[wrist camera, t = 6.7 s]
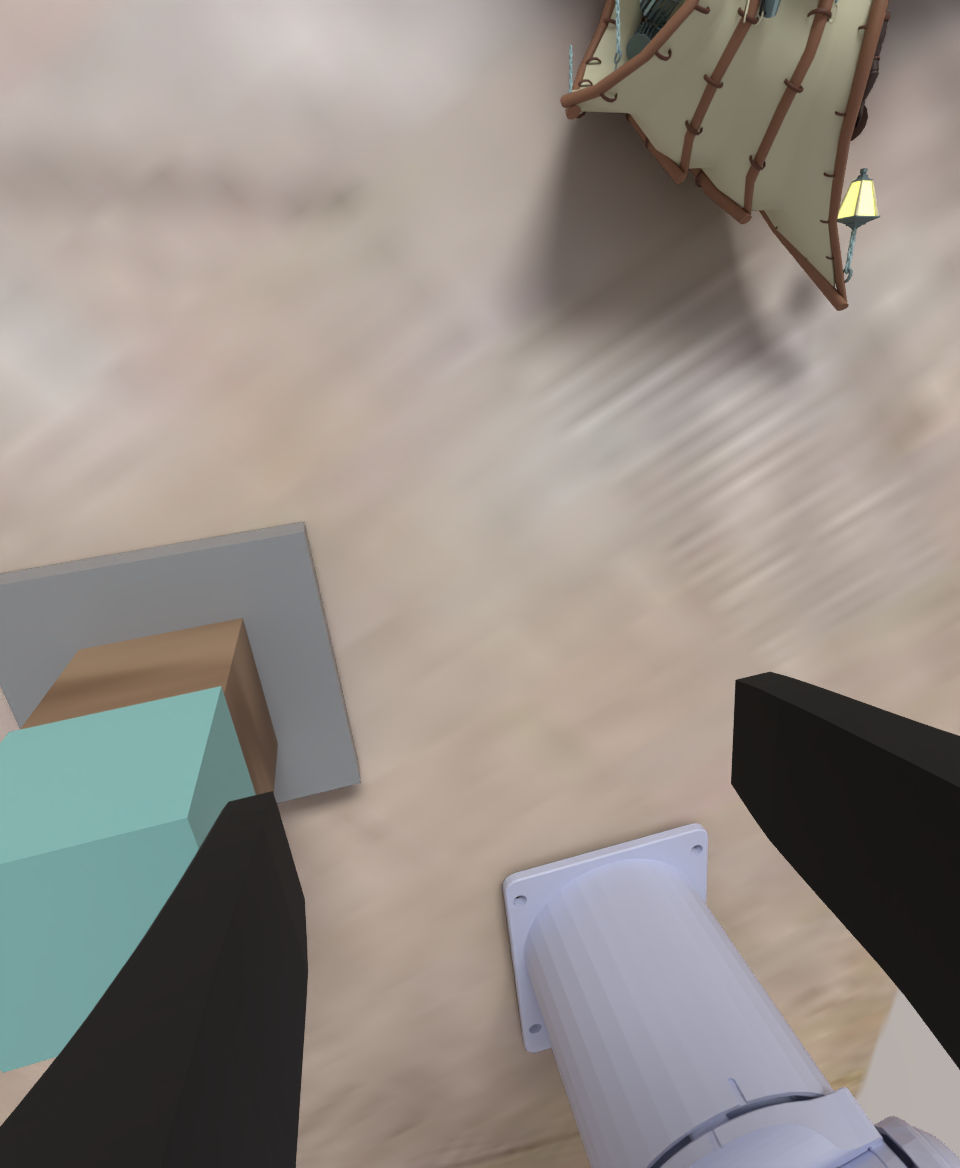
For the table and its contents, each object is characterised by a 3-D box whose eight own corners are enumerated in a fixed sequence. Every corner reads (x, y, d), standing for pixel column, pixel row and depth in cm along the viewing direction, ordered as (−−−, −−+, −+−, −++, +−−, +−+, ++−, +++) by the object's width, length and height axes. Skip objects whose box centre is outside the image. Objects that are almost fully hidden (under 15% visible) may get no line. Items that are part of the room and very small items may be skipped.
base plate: (358, 763, 21) (360, 782, 20) (87, 827, 19) (76, 851, 18) (304, 521, 18) (303, 531, 17) (-23, 577, 16) (-43, 592, 15)
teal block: (268, 836, 15) (254, 998, 11) (81, 884, 14) (2, 1072, 11) (221, 686, 13) (187, 818, 10) (9, 731, 13) (-113, 891, 9)
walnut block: (277, 744, 19) (269, 843, 15) (129, 777, 18) (82, 890, 14) (243, 618, 17) (223, 695, 13) (79, 649, 16) (12, 739, 13)
